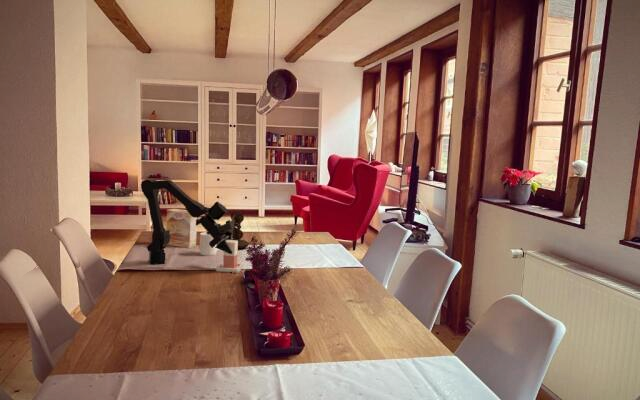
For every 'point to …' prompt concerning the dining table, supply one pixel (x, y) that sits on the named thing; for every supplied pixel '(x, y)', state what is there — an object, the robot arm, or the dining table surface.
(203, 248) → the mug
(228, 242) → the two tone block
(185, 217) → the coffeecake box
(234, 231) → the dark lumpy post
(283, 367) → the dining table surface
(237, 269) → the white tray
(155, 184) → the robot arm
